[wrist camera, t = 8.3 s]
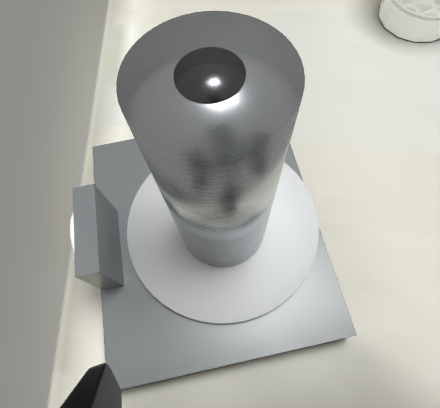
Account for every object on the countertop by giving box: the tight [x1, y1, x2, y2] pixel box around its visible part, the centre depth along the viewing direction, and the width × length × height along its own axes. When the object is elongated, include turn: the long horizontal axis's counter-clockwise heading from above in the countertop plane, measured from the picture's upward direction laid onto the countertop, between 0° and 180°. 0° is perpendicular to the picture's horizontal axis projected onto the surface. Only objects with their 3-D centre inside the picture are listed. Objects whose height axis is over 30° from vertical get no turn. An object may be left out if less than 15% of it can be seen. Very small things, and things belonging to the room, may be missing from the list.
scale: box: [70, 139, 357, 390], centre depth 20 cm, size 16×14×6 cm
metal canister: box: [117, 11, 305, 267], centre depth 15 cm, size 5×5×13 cm
